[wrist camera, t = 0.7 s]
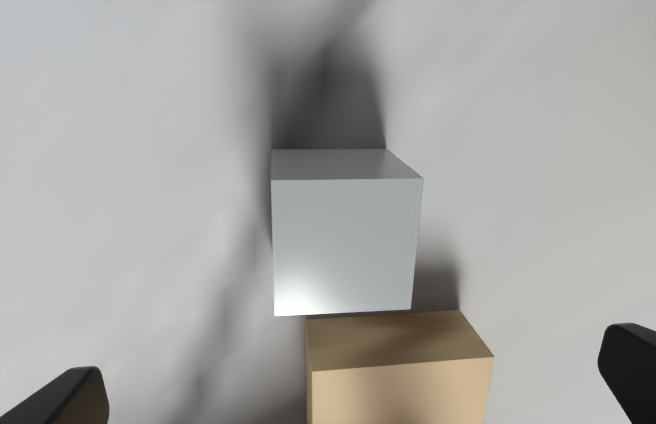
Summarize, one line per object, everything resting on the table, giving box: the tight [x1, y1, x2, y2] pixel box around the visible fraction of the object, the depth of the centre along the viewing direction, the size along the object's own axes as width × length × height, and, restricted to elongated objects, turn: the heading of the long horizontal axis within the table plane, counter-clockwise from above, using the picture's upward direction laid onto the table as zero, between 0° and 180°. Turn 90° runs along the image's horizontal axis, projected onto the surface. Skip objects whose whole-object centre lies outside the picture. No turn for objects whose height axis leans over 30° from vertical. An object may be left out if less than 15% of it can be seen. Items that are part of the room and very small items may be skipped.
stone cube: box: [271, 149, 424, 316], centre depth 17 cm, size 5×5×5 cm
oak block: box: [305, 310, 494, 424], centre depth 21 cm, size 8×8×4 cm
